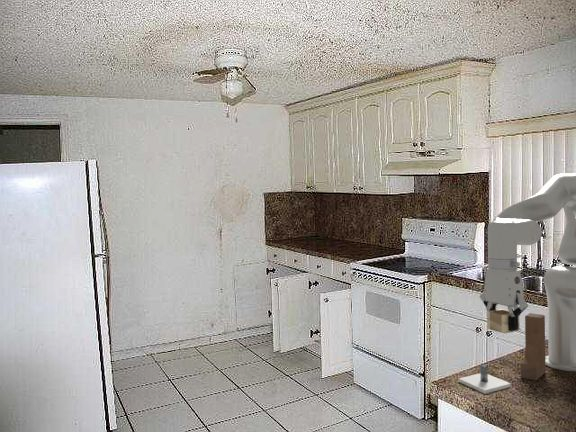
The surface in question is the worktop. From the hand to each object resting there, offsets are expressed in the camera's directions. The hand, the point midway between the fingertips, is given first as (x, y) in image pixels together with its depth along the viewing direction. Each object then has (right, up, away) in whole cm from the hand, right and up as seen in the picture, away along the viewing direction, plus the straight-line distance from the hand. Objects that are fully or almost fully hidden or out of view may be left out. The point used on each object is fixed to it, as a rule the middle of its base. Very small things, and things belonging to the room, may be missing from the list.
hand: (503, 326), depth 137 cm
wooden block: (+13, -17, +10) cm, 24 cm away
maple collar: (0, -1, 0) cm, 1 cm away
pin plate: (-4, -18, +4) cm, 19 cm away
